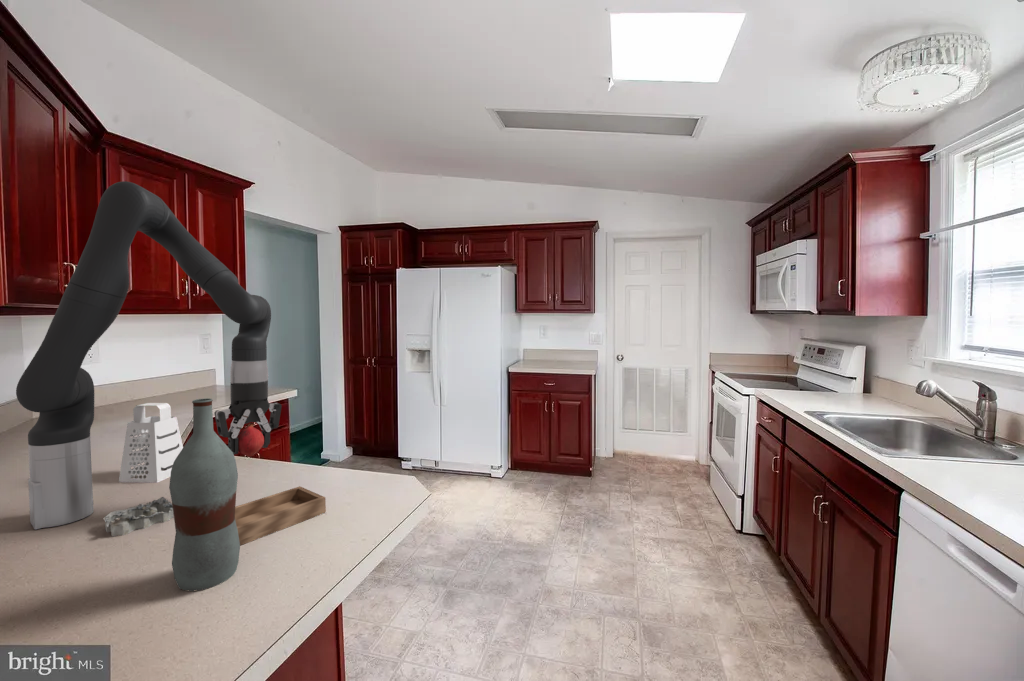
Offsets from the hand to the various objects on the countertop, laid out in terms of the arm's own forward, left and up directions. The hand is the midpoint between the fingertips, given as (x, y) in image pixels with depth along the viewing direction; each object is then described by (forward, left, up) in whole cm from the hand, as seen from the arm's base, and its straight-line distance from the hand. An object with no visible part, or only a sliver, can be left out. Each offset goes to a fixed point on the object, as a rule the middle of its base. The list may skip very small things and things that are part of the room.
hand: (249, 450), depth 101 cm
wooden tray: (-3, -14, -13) cm, 19 cm away
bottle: (-18, -26, -13) cm, 34 cm away
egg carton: (-19, +7, -13) cm, 24 cm away
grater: (-8, +41, -13) cm, 44 cm away
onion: (0, 0, -2) cm, 2 cm away
